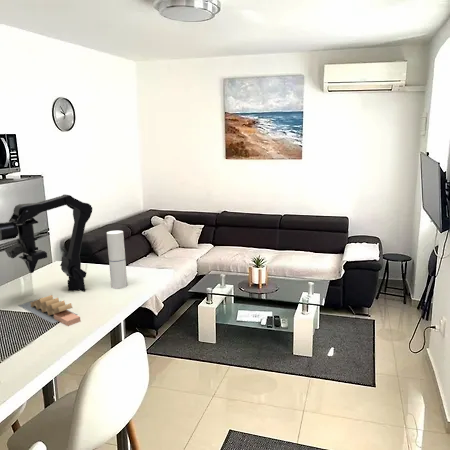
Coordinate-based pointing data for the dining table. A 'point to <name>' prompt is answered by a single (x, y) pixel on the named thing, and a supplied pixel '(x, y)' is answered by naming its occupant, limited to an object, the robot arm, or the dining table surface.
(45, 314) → the mat
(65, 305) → the domino
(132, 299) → the dining table surface
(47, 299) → the domino
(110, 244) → the cylindrical container
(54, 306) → the domino
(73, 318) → the terracotta domino
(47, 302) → the domino
